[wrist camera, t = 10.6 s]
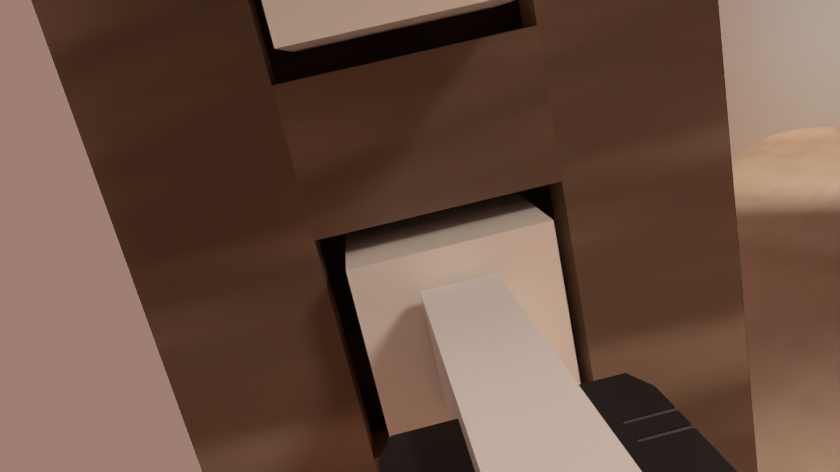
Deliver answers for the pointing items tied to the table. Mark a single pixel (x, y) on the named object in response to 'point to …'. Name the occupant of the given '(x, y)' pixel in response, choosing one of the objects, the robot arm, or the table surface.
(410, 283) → the bottom key
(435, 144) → the switch panel
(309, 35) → the middle key
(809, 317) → the table surface
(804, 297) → the table surface
